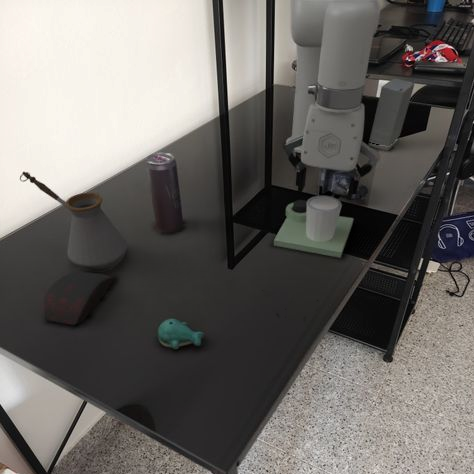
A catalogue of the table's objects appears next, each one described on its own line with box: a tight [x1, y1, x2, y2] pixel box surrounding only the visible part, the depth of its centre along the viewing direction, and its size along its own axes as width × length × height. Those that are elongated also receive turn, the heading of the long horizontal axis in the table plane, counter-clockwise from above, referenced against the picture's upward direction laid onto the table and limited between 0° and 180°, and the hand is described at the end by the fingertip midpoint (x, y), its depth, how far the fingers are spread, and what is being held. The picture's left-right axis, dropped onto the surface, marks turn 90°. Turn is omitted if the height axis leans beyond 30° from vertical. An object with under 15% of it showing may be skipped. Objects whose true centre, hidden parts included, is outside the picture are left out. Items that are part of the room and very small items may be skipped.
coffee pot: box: [19, 171, 128, 273], centre depth 83 cm, size 21×12×15 cm, turn 59°
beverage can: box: [145, 152, 184, 234], centre depth 90 cm, size 6×6×15 cm
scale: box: [273, 202, 354, 259], centre depth 91 cm, size 15×14×3 cm
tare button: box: [292, 199, 307, 213], centre depth 94 cm, size 3×3×2 cm
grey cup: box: [306, 195, 343, 242], centre depth 87 cm, size 7×7×7 cm
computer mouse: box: [43, 271, 115, 326], centre depth 77 cm, size 8×14×4 cm, turn 165°
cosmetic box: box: [367, 78, 415, 152], centre depth 120 cm, size 8×7×16 cm
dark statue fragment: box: [317, 168, 369, 201], centre depth 102 cm, size 6×13×6 cm, turn 43°
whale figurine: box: [157, 318, 205, 350], centre depth 69 cm, size 6×7×4 cm
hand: (325, 193), depth 84 cm, fingers open, 9 cm apart
